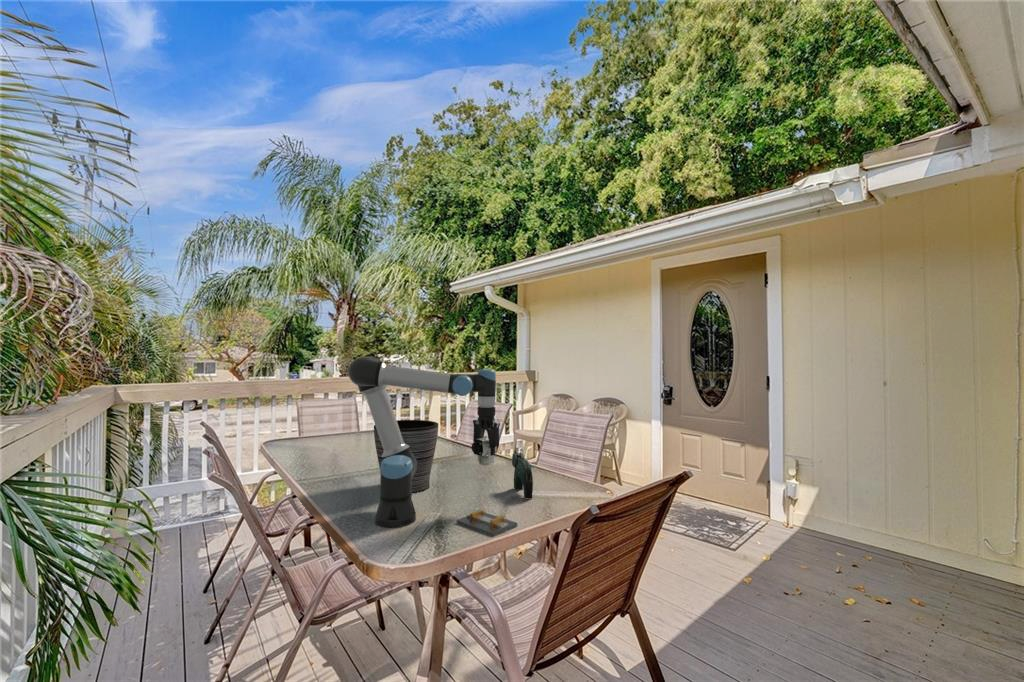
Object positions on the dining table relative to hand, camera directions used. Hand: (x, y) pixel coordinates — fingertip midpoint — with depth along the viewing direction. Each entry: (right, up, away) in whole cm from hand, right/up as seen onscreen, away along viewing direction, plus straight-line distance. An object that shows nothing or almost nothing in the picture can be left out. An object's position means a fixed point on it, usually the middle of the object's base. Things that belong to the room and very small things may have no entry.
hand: (485, 461), depth 194 cm
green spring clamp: (+16, -20, +19) cm, 32 cm away
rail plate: (+2, -18, -21) cm, 28 cm away
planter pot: (-40, -19, +26) cm, 51 cm away
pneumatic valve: (0, -1, 0) cm, 1 cm away
